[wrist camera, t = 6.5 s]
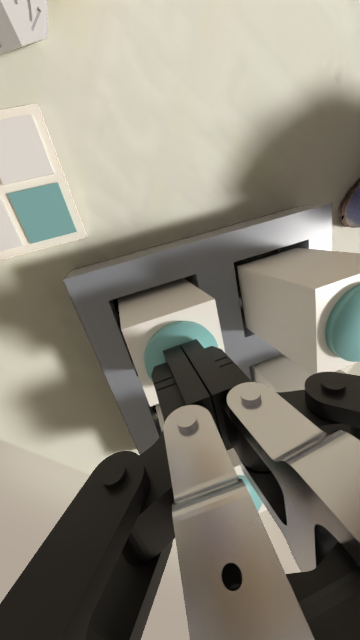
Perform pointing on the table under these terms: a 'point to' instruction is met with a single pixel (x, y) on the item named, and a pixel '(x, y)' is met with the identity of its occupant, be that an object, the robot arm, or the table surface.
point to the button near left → (166, 325)
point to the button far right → (280, 374)
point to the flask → (351, 207)
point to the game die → (22, 23)
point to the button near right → (305, 306)
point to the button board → (203, 272)
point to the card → (32, 187)
